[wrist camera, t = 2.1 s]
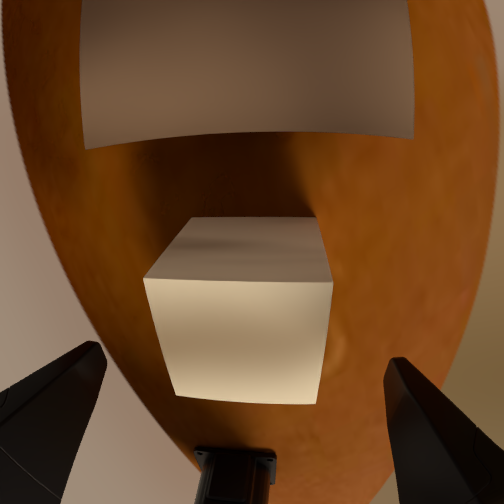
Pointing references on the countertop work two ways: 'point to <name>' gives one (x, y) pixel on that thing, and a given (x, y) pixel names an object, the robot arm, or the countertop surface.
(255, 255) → the block
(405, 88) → the base
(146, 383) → the countertop surface
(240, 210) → the countertop surface
